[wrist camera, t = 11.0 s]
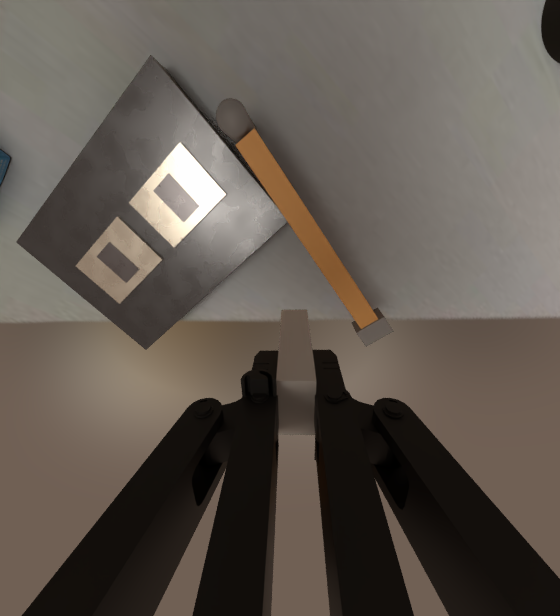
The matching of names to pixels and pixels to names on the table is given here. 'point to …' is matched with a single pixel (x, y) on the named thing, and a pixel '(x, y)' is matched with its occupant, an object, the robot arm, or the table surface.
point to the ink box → (3, 164)
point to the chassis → (151, 211)
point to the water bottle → (551, 28)
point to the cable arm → (300, 219)
